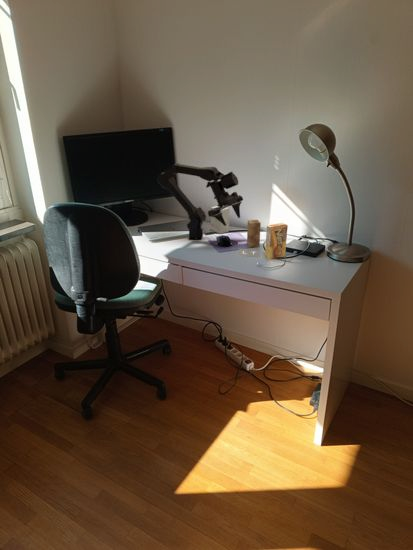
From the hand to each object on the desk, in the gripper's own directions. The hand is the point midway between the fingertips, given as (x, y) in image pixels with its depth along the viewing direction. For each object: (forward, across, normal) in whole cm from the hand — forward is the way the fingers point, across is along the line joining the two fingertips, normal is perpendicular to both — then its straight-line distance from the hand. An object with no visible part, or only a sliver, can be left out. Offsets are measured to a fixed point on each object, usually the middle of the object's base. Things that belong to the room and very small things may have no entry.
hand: (232, 221), depth 206 cm
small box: (+5, +3, +21) cm, 22 cm away
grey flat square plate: (+15, -5, -11) cm, 19 cm away
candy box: (+21, +1, -20) cm, 29 cm away
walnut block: (+15, +3, -4) cm, 16 cm away
